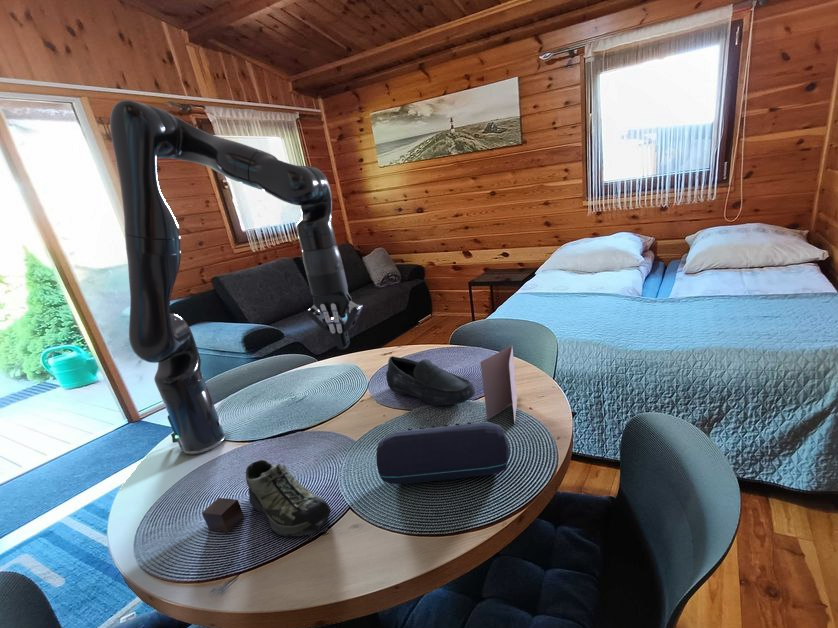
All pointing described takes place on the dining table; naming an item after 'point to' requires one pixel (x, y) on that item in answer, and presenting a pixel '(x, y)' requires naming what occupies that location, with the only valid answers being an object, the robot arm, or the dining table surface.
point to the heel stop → (223, 514)
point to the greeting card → (499, 382)
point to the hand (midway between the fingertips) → (343, 347)
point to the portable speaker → (442, 453)
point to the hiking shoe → (285, 500)
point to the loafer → (427, 382)
